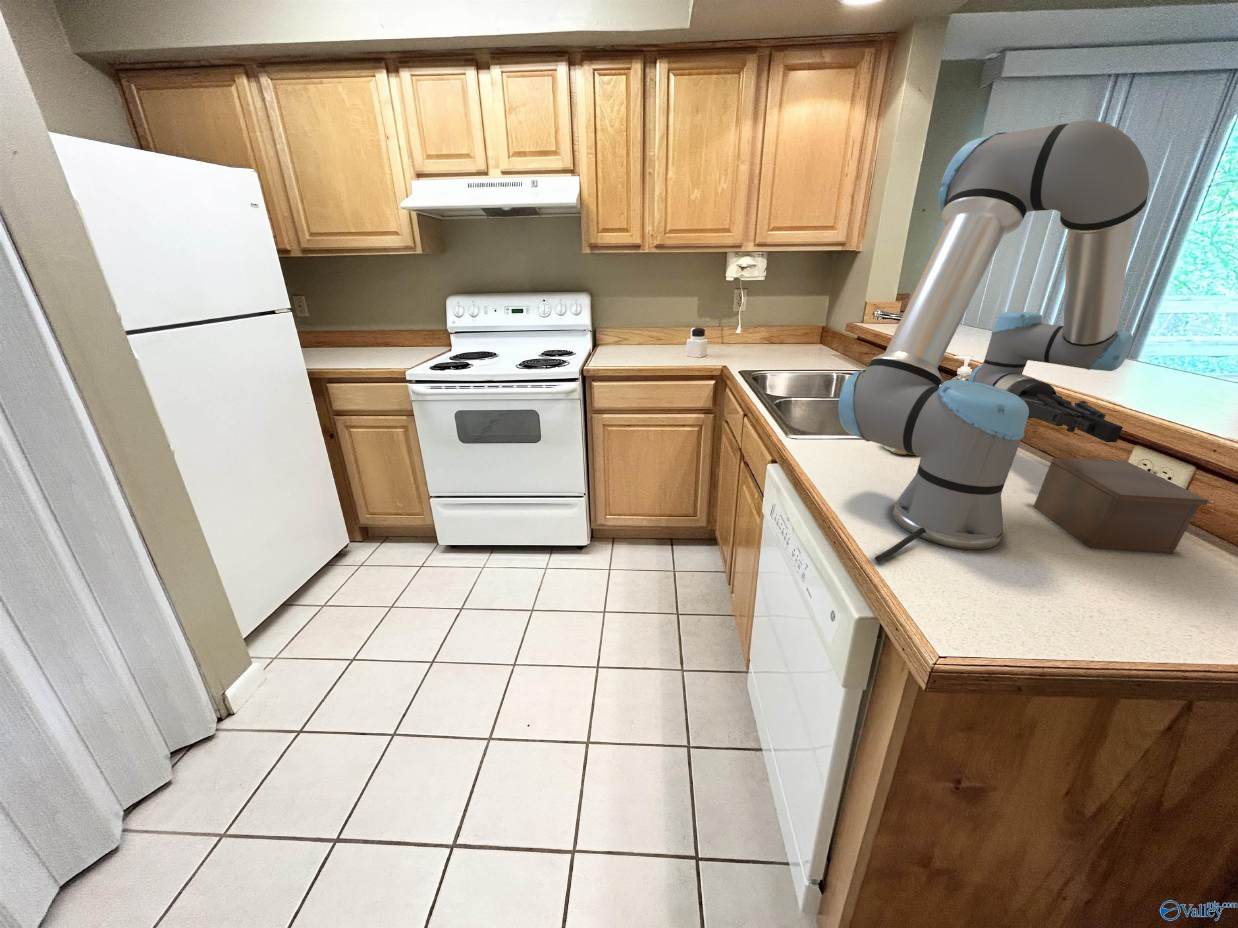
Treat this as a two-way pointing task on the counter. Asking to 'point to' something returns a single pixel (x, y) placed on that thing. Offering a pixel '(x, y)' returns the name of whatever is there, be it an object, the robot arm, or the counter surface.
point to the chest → (1111, 515)
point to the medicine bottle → (697, 343)
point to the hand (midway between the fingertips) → (1114, 434)
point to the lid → (1128, 481)
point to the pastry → (895, 450)
